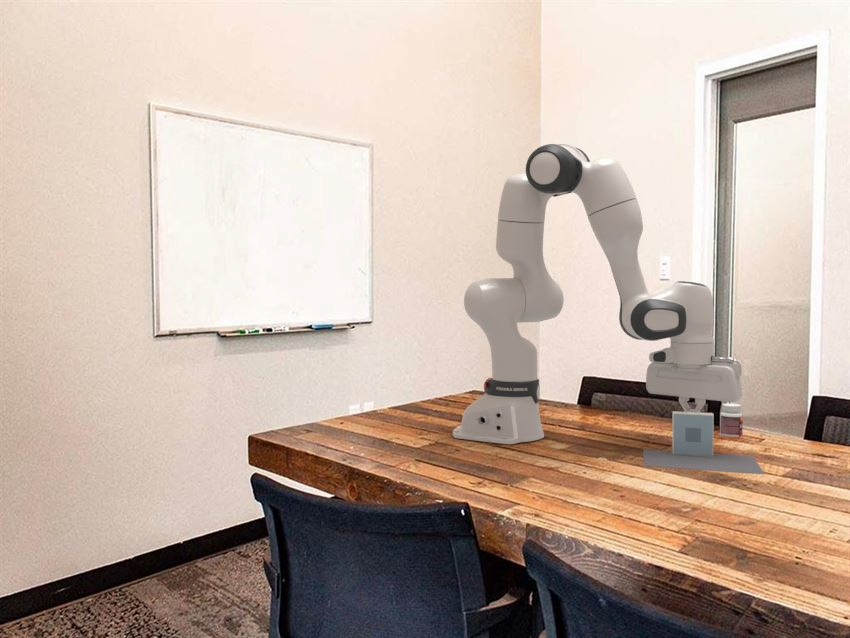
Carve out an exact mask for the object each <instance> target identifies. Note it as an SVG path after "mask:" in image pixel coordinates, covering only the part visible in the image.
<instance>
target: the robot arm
mask: <svg viewBox="0 0 850 638" xmlns="http://www.w3.org/2000/svg"><path fill="white" fill-rule="evenodd" d="M572 193H573V194H576V195H577V196H578V197H579V199H580V200H581V203H582V205H583V207H584V210H585V214H586V216H587V218H588V222H589V225H590V227H591V229H592V231H593V233H594V236H595V238H596V240H597V241H598V244H599V246H600V247H601V249H602V251H603V253H604V255H605V256H606V257H605V258H606V259H607V261H608V263H609V266H610V268H611V273H612V275H613V279H614V282H615V285H616V288H617V292H618V295H619V300H620V301H619V302H620V303H619V304H620V305H619V316H618V319H619V325H620V328H621V329H622V331H623V332H624V333H625V335H626V336H627V337H630V338H632V339H635V340H637V341H638V340H639V341H640V340H641V341H642V340H643V341H649V342H656V341H660V340H662V339H663V340H664V339H670V346H669V347H666V348H662V349H660V350H656V351H653V352H649V356H648V359H649V361H650V362H651V363H649V365H648V366H647V367H646V368H647V369H646V375H645V376H646V377H645V378H646V379H645V387H646V390H647V393H649V394H651V395H652V394H653V395H661V396H670V397H678V403H679V405H680V406H681V408H682V409H683V412H700V413H701V410H702V409H703V408H704V406H705V405H706V403H707V402H706V401H707V400H709V401H719V402H726V403H727V402H728V403H735V402H738V401H740V399H741V398H742V397H743V391H742V390H743V388H742V381H741V376H742V365H741V363H740V362H739V361H738V360H736V359H735V358H734V357H728V356H727V357H722V356H715V340H714V336H713V327H714V322H715V317H714V316H715V312H714V311H715V310H714V301H713V300H714V298H713V295H712V291H711V289H710V287H708V286H707V285H705V284H704V283H703V284H702V283H699V282H693V281H685V280H684V281H682V280H680V281H675V282H674V283H673V284H672V285H670V286H668V287H667V288H665V289H663V290H662V291H659V292H657V293H655V294H652V295H651V294H650V293H649V290H648V288H647V285H646V282H645V279H644V276H643V271H642V270H641V266H640V263H639V258H638V250H639V249H638V248H639V244H640V240H641V236H642V234H643V230H644V225H643V217H642V212H641V208H640V205H639V201H638V199H637V196H636V193H635V190H634V188H633V186H632V183H631V182H630V180H629V177H628V175H627V174H626V172H625V170H624V168H623V167H622V165H621V164H620V163H619V162H618V160H616V159H614V158H612V157H611V158H609V157H603V158H598V159H595V160H594V159H593V160H592V161H591V160H590V158H589V156H588V155H587V154H586V153H585V152H584V151H583V150H582V149H581V148H578V147H575V146H572V145H570V144H564V143H563V144H562V143H561V144H560V143H559V144H556V143H548V144H544V145H541V146H540V147H537V148H536V149H535V150H534V151H532V153H531V154H529V157H528V158H527V161H526V163H525V172H522V173H516V174H513V175H511V176H509V177H508V178H507V179H506V180H505V182H504V185H503V188H502V191H501V197H500V202H499V206H498V213H497V215H498V217H497V219H498V220H497V225H496V226H497V229H496V239H495V250H496V252H497V254H498V256H499V258H501V259H502V260H503V261H505V262H506V263H508V264H510V265H511V267H512V270H513V277H510V278H508V277H507V278H505V277H501V278H497V277H495V278H493V277H490V278H486V279H481V280H476V281H473V282H471V283H470V285H469V286H468V287H467V288H466V291H465V293H464V297H463V304H464V305H463V306H464V309H465V311H466V314H467V316H468V317H469V318H470V319H471V321H472V322H475V323H476V324H477V325H478V326H479V327H480V328H481V330H482V331H483V333H484V335H485V337H486V339H487V341H488V343H489V347H490V348H489V349H490V353H491V354H490V355H491V375H492V376H491V377H488V378H487V379H486V380H485V382H484V383H483V390H484V392H485V393H484V394H482V395H481V396H479V398H477V399H476V400H475V401H473V402H472V403H471V404H470V405H468V406H467V407H466V408H465V409H464V412H463V414H462V417H461V418H462V419H461V425H458V426H457V427H455V428H454V429H453V431H452V437H453V438H455V439H460V440H461V439H462V440H467V441H475V442H485V443H492V444H493V443H495V444H501V445H502V444H503V445H514V444H518V443H527V442H533V441H534V442H535V441H538V440H541V439H543V438H545V432H544V430H543V426H542V421H541V417H540V416H541V415H540V407H539V402H540V399H541V397H540V396H541V388H540V387H541V385H540V379H539V378H538V350H537V348H536V346H535V345H534V343H533V342H532V341H530V340H529V339H527V338H525V337H523V336H522V335H521V333H520V332H519V327H518V323H519V324H521V323H540V322H544V321H548V320H551V319H554V318H556V317H558V316H559V314H560V313H561V312H562V309H563V306H564V301H565V298H564V292H563V290H562V288H561V286H560V284H559V283H558V282H557V281H556V280H554V279H553V278H552V276H551V275H550V273H549V271H548V269H547V267H546V264H545V259H544V252H543V251H544V231H545V218H546V208H547V206H548V205H547V204H548V202H549V201H550V199H551V198H552V197H554V198H556V197H559V196H560V197H561V196H563V195H568V194H572ZM690 398H691V399H694V403H695V404H697V405H695V408H691V407H690V405H689V403H688V401H690Z"/></svg>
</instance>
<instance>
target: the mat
mask: <svg viewBox="0 0 850 638" xmlns="http://www.w3.org/2000/svg"><path fill="white" fill-rule="evenodd" d="M642 456H643V457H642V459H643V461H642V462H643V467H652V468H653V467H654V468H655V467H656V468H670V469H684V470H697V471H698V470H699V471H710V472H711V471H712V472H726V473H740V474H752V475H754V474H755V475H764V476H765V472H764V471H763V469H762V468H761V466H760V464H759V462H758V461H757V460H756V458H755V457H754V456H753V455H746V454H745V455H744V454H731V453H729V454H728V453H718V452H717V453H714V452H713V457H705V456H690V455H675V454H672V449H671V450H667V449H666V450H665V449H654V448H653V449H652V448H642Z"/></svg>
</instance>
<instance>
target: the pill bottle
mask: <svg viewBox="0 0 850 638" xmlns="http://www.w3.org/2000/svg"><path fill="white" fill-rule="evenodd" d="M721 408H722V409H721V410H722V411H721V412H720V415H719V416H720V417H719V418H720V420H719V421H720V424H719V425H720V431H719V432H720V434H719V435H720V436H719V437H720V438H722V439H725V440H734V441H737V440H738V441H739V440H742V439H743V426H744V425H743V423H744V422H743V420H744V417H743V414H742V405H741V404H738V403H732V402H728V403H727V402H726V403H722V407H721Z"/></svg>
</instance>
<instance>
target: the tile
mask: <svg viewBox="0 0 850 638" xmlns="http://www.w3.org/2000/svg"><path fill="white" fill-rule="evenodd" d="M714 416H715V415H714V413H713V412H701V411H700V412H684V411H677V410H675V411H674V410H672V421H671V422H672V423H671V426H672V429H671V431H672V441H671V443H672V445H671V446H672V447H671V451H672V454H675V455H690V456H705V457H713V453H714V431H715V430H714V425H715V424H714V423H715V421H714V418H715V417H714Z"/></svg>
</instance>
